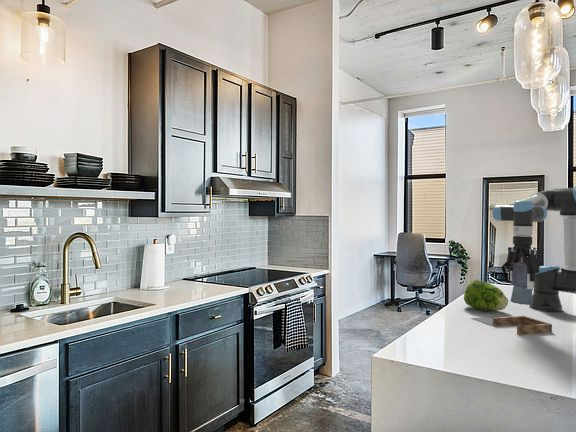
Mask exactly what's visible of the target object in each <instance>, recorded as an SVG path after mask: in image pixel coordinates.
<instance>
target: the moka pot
mask: <svg viewBox="0 0 576 432" xmlns="http://www.w3.org/2000/svg"><path fill="white" fill-rule="evenodd" d="M506 266H509V267H512V269H513V280H514V282H513V283H514V285H513V287H512V291H511V297H510V302H511V303H514V304H518V305H525V306H529V305H532V304H533V298H532V296H533V291H534V288H533V289H527V274H528V273H529V271H528V269H527V265H526V263H525V260H524V259H523V258H522V261H518V262H517V263H509V262H507V261H505V262H504V263H503V265H501V270H502V274H503V276H504V280H505V283H507V284H510V283H511V282H512V281H510V279H509V278H508V275H507V271H506ZM538 266H539V268H540V266H541V265H538ZM531 271H532V270H531Z"/></svg>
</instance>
